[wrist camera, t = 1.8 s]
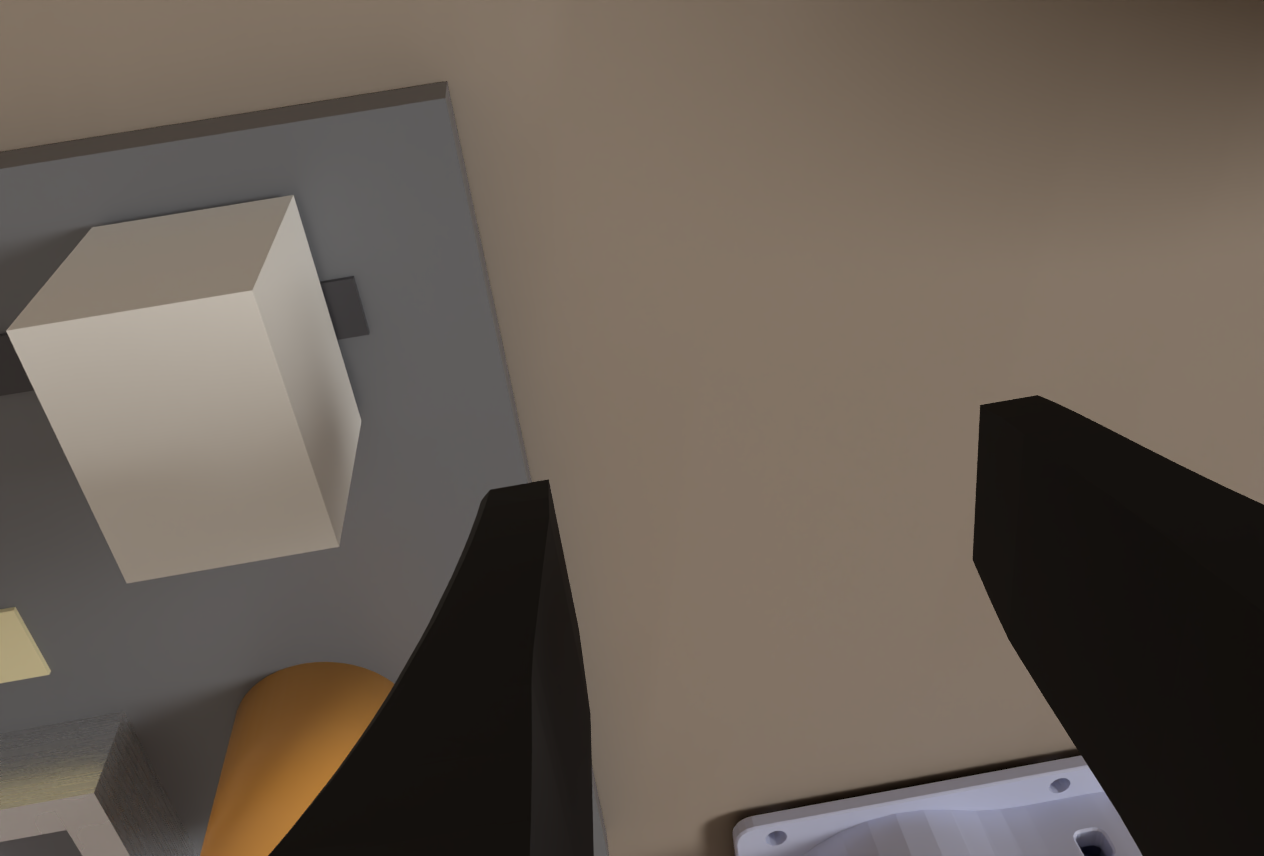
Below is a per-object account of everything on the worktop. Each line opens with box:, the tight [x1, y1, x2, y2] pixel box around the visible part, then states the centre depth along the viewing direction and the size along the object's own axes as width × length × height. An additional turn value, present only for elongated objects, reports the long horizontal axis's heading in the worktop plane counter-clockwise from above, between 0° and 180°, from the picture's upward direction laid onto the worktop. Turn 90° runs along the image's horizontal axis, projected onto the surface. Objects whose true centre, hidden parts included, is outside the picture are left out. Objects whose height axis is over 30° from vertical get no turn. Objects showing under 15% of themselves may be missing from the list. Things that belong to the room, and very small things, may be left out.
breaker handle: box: [6, 195, 361, 583], centre depth 16 cm, size 3×4×4 cm
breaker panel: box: [0, 81, 609, 856], centre depth 21 cm, size 16×18×2 cm
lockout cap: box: [200, 662, 394, 856], centre depth 20 cm, size 4×4×5 cm
